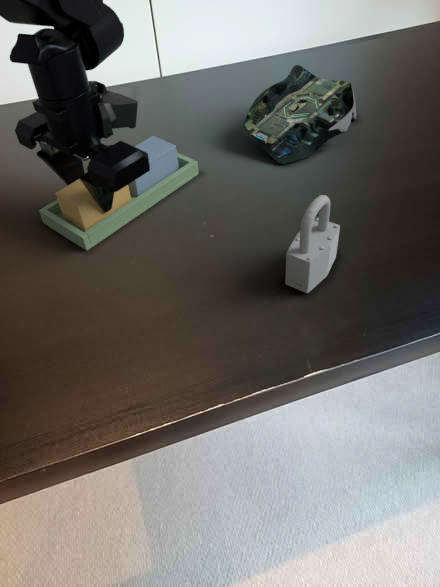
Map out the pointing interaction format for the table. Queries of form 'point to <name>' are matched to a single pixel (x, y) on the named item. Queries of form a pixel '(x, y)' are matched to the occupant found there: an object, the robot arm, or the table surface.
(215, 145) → the table surface
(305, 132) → the model
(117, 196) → the tan block
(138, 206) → the tray
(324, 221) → the padlock
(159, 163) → the blue block
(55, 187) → the table surface
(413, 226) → the table surface
